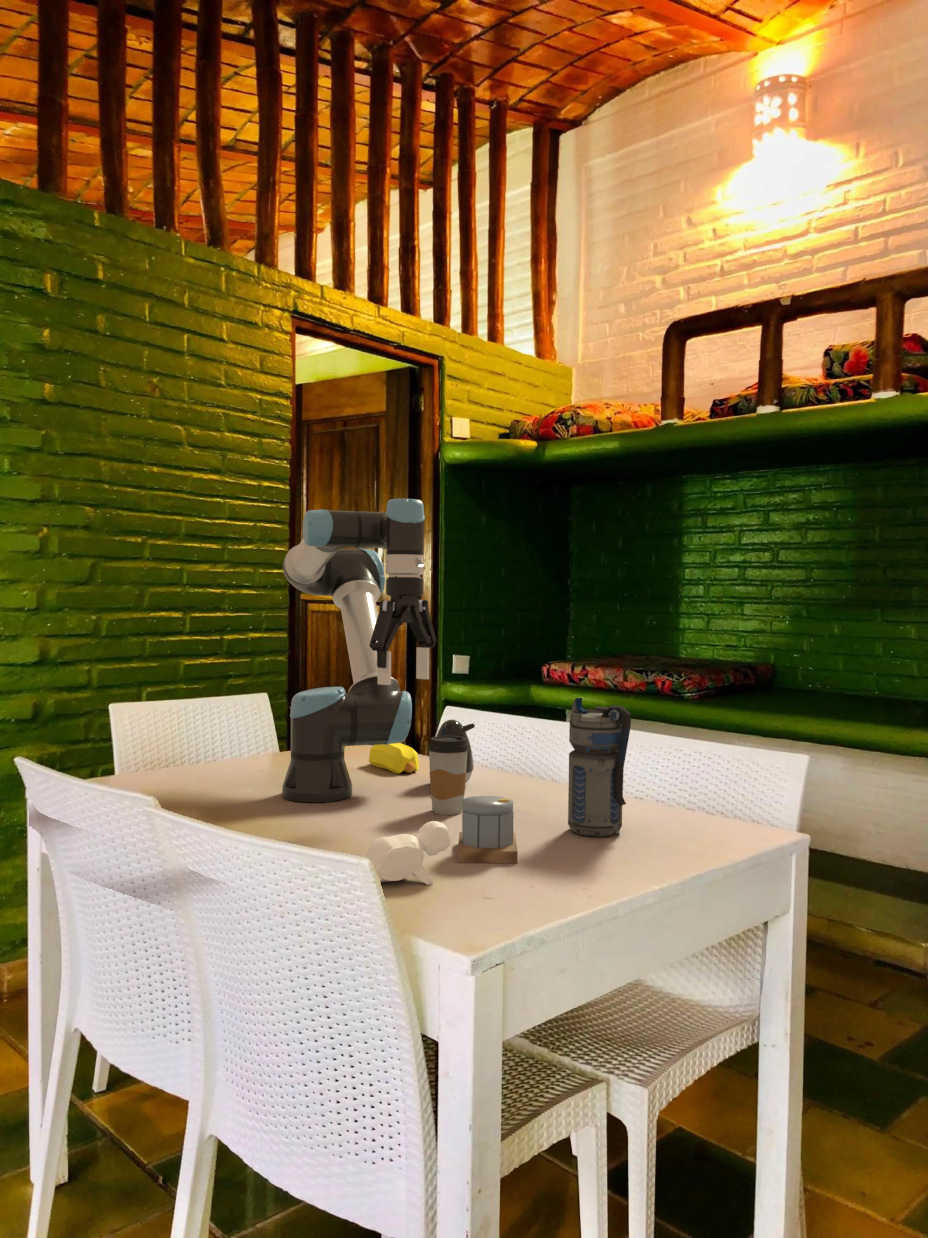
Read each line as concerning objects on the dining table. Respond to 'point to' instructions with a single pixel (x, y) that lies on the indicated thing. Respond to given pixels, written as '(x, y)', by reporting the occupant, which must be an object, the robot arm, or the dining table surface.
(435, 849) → the white animal figurine
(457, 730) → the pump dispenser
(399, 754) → the yellow faceted long part
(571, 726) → the beverage bottle
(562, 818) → the dining table surface
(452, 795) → the coffee cup
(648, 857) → the dining table surface
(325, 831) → the dining table surface
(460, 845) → the stud base
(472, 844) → the cap
